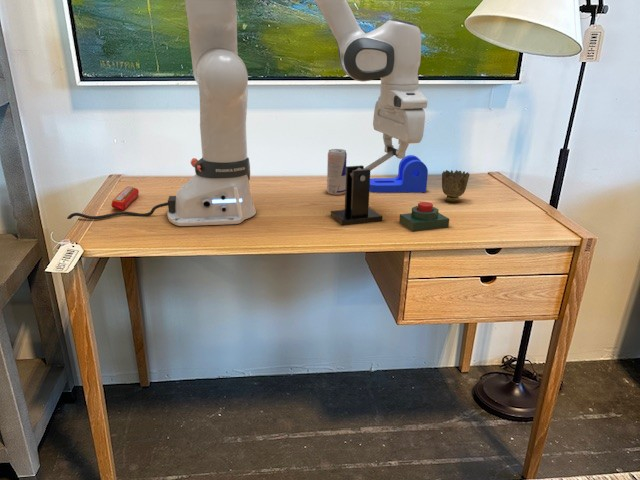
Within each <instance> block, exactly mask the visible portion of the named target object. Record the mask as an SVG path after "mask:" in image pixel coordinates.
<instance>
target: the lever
mask: <svg viewBox="0 0 640 480" xmlns="http://www.w3.org/2000/svg"><path fill="white" fill-rule="evenodd" d="M396 150H398V148H395V147H394V148H393V147H389V148H388V152H389V153H386V154H384V155H382V156H381V157H379V158H378V159H376V160H375V161H373V162H372V163H370V164H369V165H367V166H365V167H364V169H370V172H371V171H372V170H374V169H375V168H377V167H379V166H380V165H382V164H383V163H385V162H386V161H388V160H390V159H391V158H393V157H394V156H395V157H396ZM356 170H362V169H361V168H357V169H356ZM350 175H351V178H352V172H351V173H350Z"/></svg>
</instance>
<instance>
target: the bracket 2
mask: <svg viewBox="0 0 640 480" xmlns="http://www.w3.org/2000/svg"><path fill="white" fill-rule="evenodd" d="M397 170H398V172H397V176H396V177H390V178H389V177H385V178H384V177H383V178H381V177H380V178H378V177H376V178H375V177H374V178H373V177H372V178H370V189H369V193H377V194H378V193H379V194H380V193H382V194H383V193H385V194H386V193H427V187H428V186H427V185H428V176H429V170H428V167H427V165H426V164H425V163H424V162H423V161H422V160H421V159H420V158H419V157H418V156H417V155H414V154H408V155H405V158H403V159H400V161H399V164H398V169H397Z"/></svg>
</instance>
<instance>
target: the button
mask: <svg viewBox="0 0 640 480" xmlns="http://www.w3.org/2000/svg"><path fill="white" fill-rule="evenodd" d="M417 206H418V211H421V212H432V211H433V207H434V204H433V203H432V202H429V201H421V202H418V203H417Z"/></svg>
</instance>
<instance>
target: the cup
mask: <svg viewBox="0 0 640 480" xmlns="http://www.w3.org/2000/svg"><path fill="white" fill-rule="evenodd" d="M469 178H470V173H469V172H468V171H467V172H465V171H462V170H457V169H456V170H455V171H453V169H451V170H448V169H446V170H445V171H444V170H443V171H442V172H441V189H442V192H443V194H444V195H445V200H446V201H447V202H449V203H458V202H459V200H460V197H461V196H463V195H464V193H465V192H466V189H467V186H468V183H469Z"/></svg>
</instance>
